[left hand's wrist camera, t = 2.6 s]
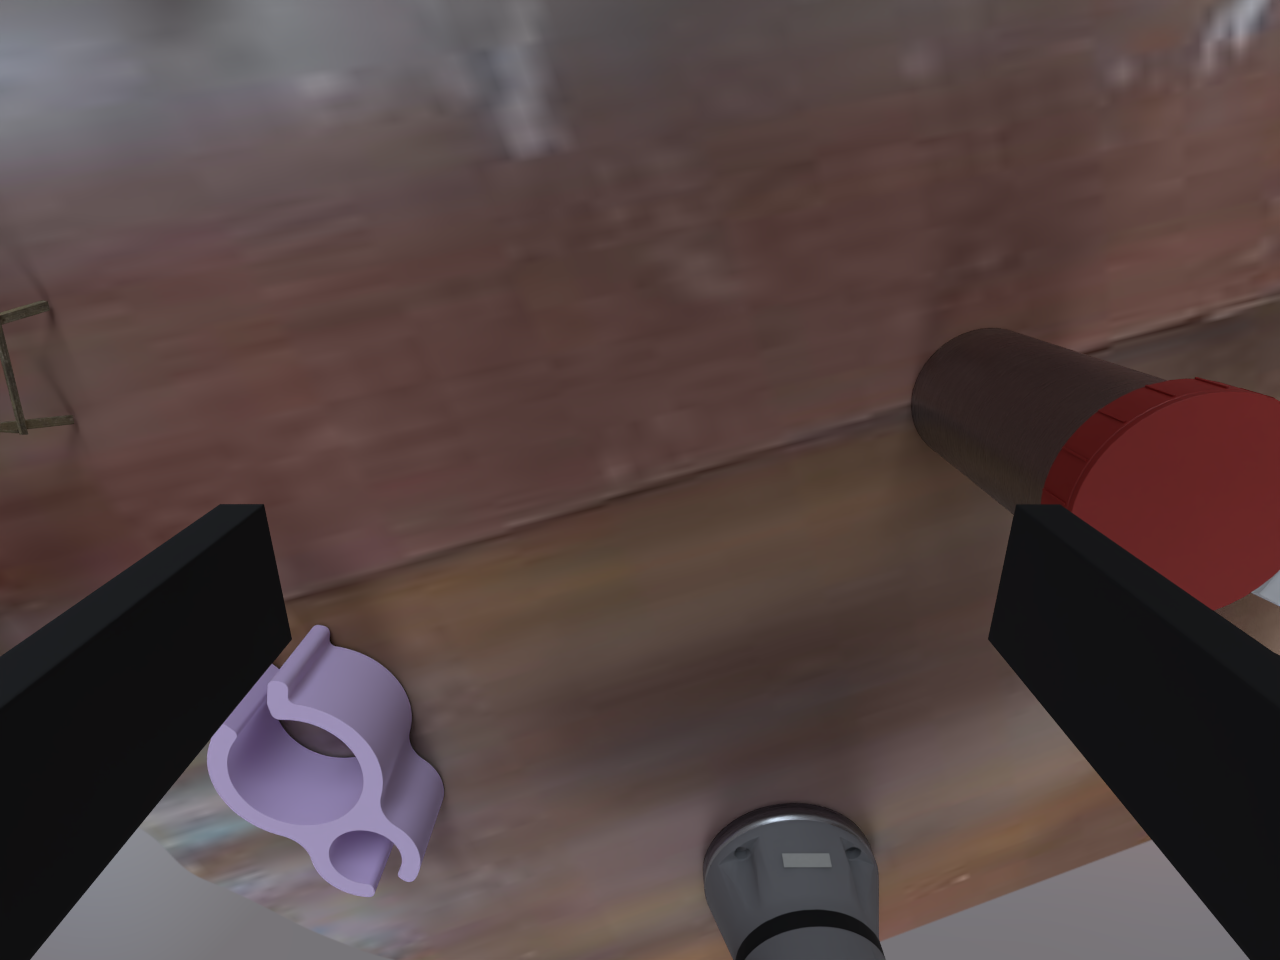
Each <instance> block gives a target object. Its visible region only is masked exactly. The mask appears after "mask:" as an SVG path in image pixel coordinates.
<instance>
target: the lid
mask: <svg viewBox="0 0 1280 960" xmlns="http://www.w3.org/2000/svg"><path fill="white" fill-rule="evenodd" d="M1042 491H1043V492H1042V496H1041V504H1060V505H1062V506H1063V507H1064V508H1066V509H1067V510H1069V511H1070V512H1072V513H1073V514H1075V515H1076V516H1077V517H1079V518H1080V519H1082V520H1083V521H1085V522H1086V523H1088V524H1089V525H1090V526H1092V527H1093V528H1095V529H1096V530H1098V531H1099V532H1101V533H1102V534H1103V535H1105V536H1106V537H1108V538H1109V539H1111V540H1112V541H1114V542H1115V543H1116V544H1118V545H1119V546H1121V547H1122V548H1124V549H1125V550H1127V551H1128V552H1129V553H1131V554H1132V555H1134V556H1135V557H1137V558H1138V559H1139V560H1141V561H1142V562H1144V563H1145V564H1147V565H1148V566H1150V567H1151V568H1152V569H1154V570H1155V571H1157V572H1158V573H1160V574H1161V575H1163V576H1164V577H1165V578H1167V579H1168V580H1170V581H1171V582H1173V583H1174V584H1176V585H1177V586H1178V587H1180V588H1181V589H1183V590H1184V591H1186V592H1187V593H1189V594H1190V595H1191V596H1193V597H1194V598H1196V599H1197V600H1199V601H1200V602H1202V603H1203V604H1204V605H1206V606H1207V607H1209V608H1210V609H1212V610H1213V611H1214V610H1216V609H1219V608H1221V607H1224V606H1226V605H1229V604H1231V603H1233V602H1235V601H1237V600H1239V599H1241V598H1243V597H1244V596H1246V595H1248V594H1249V593H1251V592H1252V591H1254V590H1256V589H1257V588H1259V587H1260V586H1261V585H1263V584H1264V583H1265V582H1266V581H1268V580H1269V579H1270V578H1272V577H1273V576H1274V575H1275V574H1276V573H1277V572H1278V571H1279V570H1280V401H1278V400H1276V399H1275V398H1273V397H1270V396H1267V395H1263V394H1260V393H1256V392H1253V391H1249V390H1246V389H1243V388H1237V387H1234V386H1230V385H1227V384H1223V383H1220V382H1216V381H1210V380H1205V379H1202V378H1198V377H1195V379H1178V380H1169V381H1164V382H1160V383H1155V384H1151V385H1145V387H1142V388H1139V389H1136V390H1134V391H1132V392H1130V393H1128V394H1126V395H1123V396H1121V397H1119V398H1118V399H1116V400H1114V401H1113V402H1111V403H1109V404H1108V405H1106V406H1104V407H1103V408H1102V409H1099V410H1098V412H1096V413H1095V414H1094V415H1092V416H1091V417H1090V418H1089V419H1088V420H1087V421H1086V422H1085V423H1083V424H1082V425H1081V426H1080V427H1079V428H1078V429H1077V430H1076V432H1075V433H1074V434H1073V435H1072V436H1071V437H1070V438H1069V439H1068V441H1067V442H1066V443H1065V445H1064V446H1063V447H1062V449H1061V451H1060V452H1059V453H1058V455H1057V457H1056V459H1055V461H1054V463H1053V464H1052V466H1051V468H1050V471H1049V473H1048V476H1047V478H1046V481H1045V484H1044V488H1043V489H1042Z"/></svg>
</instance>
